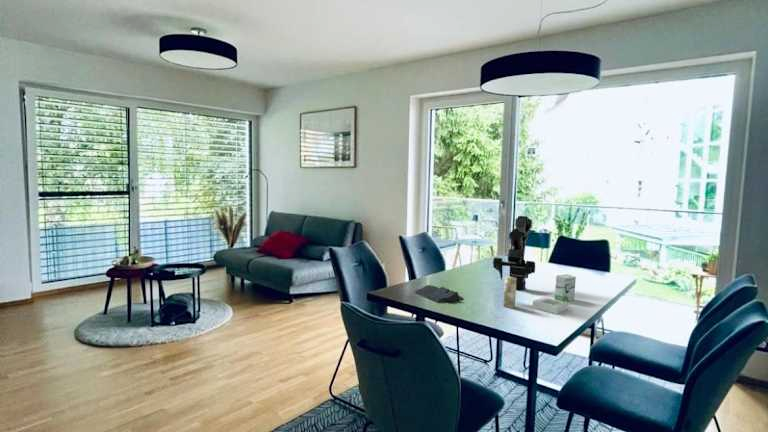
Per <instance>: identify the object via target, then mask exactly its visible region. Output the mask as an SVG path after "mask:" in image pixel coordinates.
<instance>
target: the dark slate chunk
mask: <svg viewBox="0 0 768 432" xmlns="http://www.w3.org/2000/svg"><path fill="white" fill-rule="evenodd" d="M414 294H416V295H418V296H420V297H422V298H425V299H427V300H430V301H432V302H435V303H437V304H447V303H451V304H452V303H456V302H459V301H462V300H464V297H462V296H461V295H460V294H459V292H458V291H454V290H450V289H449V288H446V287H444V286H440V287H437V286H435V285H425V286H423V287H421V288H419V289H417V290H416V291H414Z"/></svg>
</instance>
